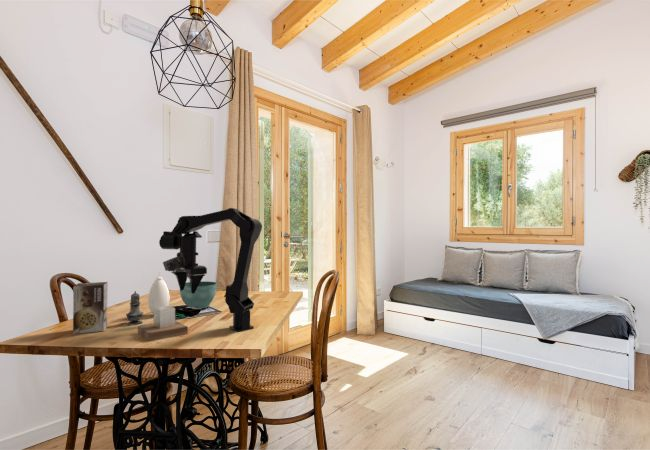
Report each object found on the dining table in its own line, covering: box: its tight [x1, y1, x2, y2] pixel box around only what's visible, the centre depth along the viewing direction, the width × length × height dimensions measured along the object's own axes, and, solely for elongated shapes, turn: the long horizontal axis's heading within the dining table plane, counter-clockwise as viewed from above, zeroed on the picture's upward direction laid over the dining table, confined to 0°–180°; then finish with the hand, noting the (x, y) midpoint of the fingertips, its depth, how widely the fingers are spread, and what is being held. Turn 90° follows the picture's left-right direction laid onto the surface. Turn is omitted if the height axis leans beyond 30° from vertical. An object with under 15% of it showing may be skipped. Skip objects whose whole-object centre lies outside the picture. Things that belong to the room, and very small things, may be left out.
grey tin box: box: [153, 305, 176, 329], centre depth 121 cm, size 5×5×6 cm
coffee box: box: [72, 281, 108, 335], centre depth 123 cm, size 9×6×16 cm
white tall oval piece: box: [147, 270, 171, 314], centre depth 145 cm, size 8×8×18 cm
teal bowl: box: [179, 280, 218, 309], centre depth 160 cm, size 16×16×11 cm
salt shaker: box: [125, 290, 144, 326], centre depth 133 cm, size 6×6×12 cm
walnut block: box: [137, 320, 189, 342], centre depth 120 cm, size 12×12×3 cm
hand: (187, 291), depth 133 cm, fingers open, 9 cm apart
